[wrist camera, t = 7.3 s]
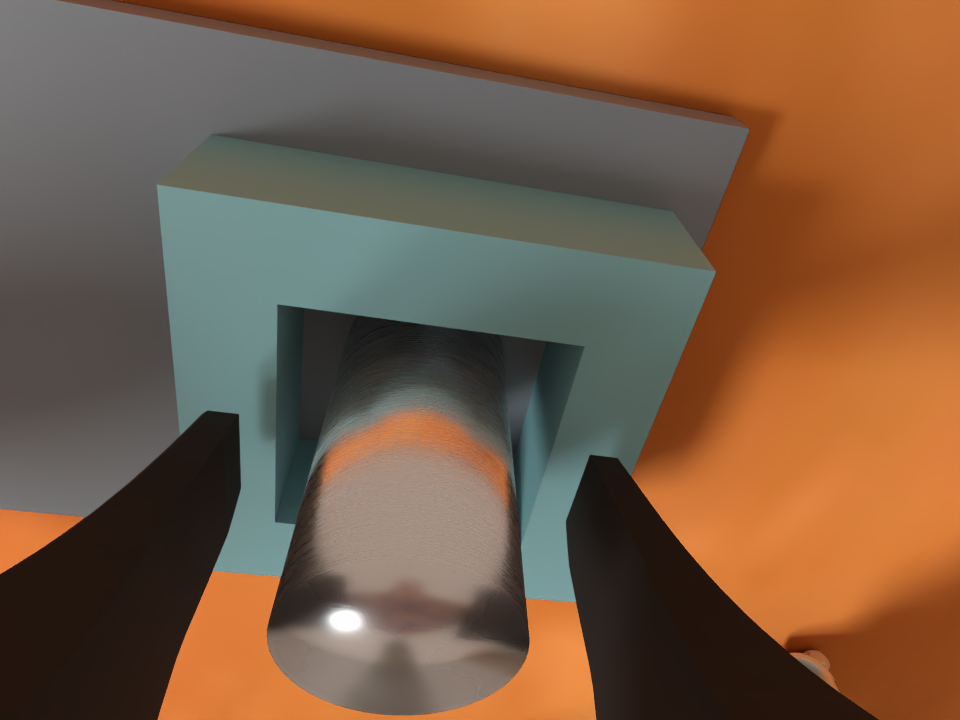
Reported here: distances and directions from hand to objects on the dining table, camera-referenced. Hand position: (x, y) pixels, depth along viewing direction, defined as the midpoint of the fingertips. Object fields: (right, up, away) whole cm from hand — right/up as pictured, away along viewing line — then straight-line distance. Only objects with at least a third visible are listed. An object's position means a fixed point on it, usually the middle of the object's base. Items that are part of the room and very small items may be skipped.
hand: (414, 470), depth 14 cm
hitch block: (-3, +3, +4) cm, 6 cm away
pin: (0, +2, +3) cm, 4 cm away
